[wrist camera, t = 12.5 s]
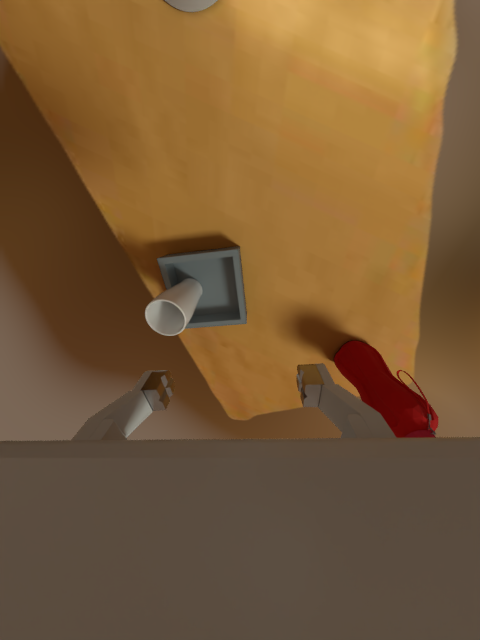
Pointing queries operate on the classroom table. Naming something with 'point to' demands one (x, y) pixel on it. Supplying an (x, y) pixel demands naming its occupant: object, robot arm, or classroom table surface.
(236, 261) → the bin
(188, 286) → the drinking glass
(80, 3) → the classroom table surface
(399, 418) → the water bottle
